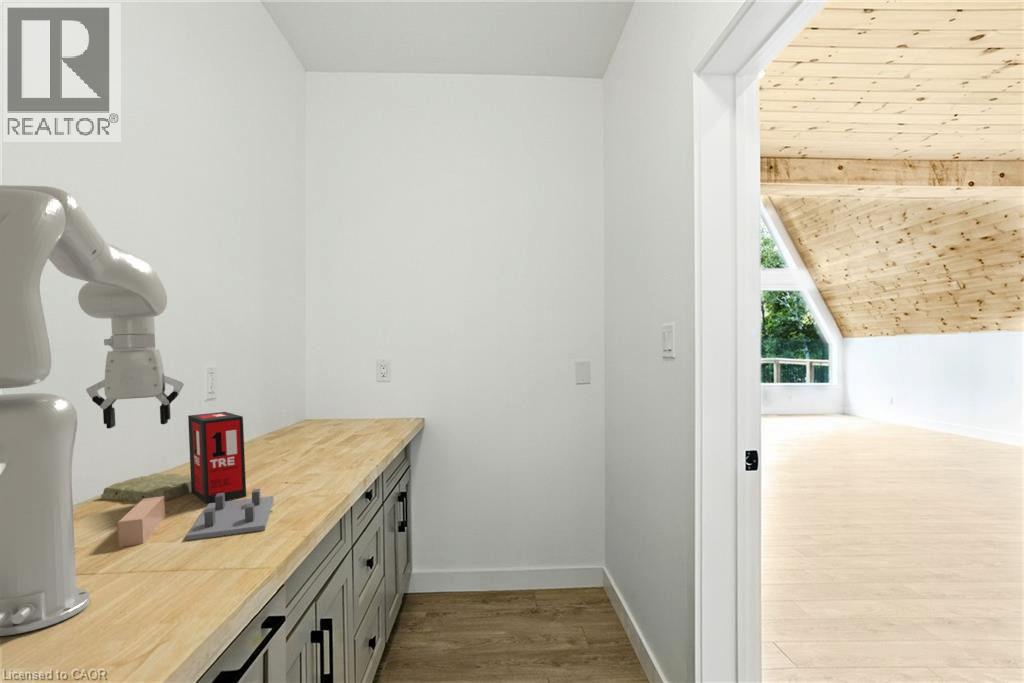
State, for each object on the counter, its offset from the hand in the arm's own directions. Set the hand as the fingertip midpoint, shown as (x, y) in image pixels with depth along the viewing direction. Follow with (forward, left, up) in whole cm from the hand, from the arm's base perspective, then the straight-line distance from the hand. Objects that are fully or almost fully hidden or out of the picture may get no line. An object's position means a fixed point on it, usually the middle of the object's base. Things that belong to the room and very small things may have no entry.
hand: (138, 425), depth 121 cm
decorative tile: (+35, +5, -22) cm, 42 cm away
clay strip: (-2, -1, -22) cm, 22 cm away
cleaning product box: (+24, -11, -22) cm, 35 cm away
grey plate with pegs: (-1, -18, -22) cm, 28 cm away
